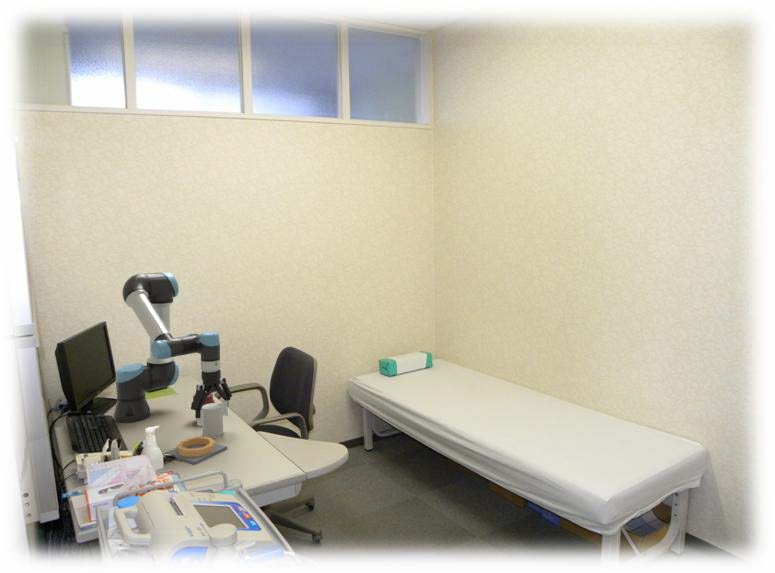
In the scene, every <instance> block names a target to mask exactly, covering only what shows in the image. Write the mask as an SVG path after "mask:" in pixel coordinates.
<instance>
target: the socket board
mask: <svg viewBox="0 0 775 573" xmlns="http://www.w3.org/2000/svg"><path fill="white" fill-rule="evenodd" d="M176 446H177V447H175V448H173V449H170V450H168V451H165V452H164V455H165V454H174V455H175V457H176V458H177V459H176V460H179V461H183V462H185V463H189V464H192V465H197V464H200V463H201V462H203V461H206V460H207V459H209V458H212V457H213V456H215V455H217V454H220V453H221V452H224V451H226V450H228V446H227V445H224V444H220V443H216V441H215V440H214V438H209V437H203V436H194V437H188V438H186V439H183V440H181V441H180V442H179V443H178V444H177V445H176Z"/></svg>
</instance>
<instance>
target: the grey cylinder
mask: <svg viewBox="0 0 775 573" xmlns="http://www.w3.org/2000/svg"><path fill="white" fill-rule="evenodd" d="M202 410H203V426H201V431H202V437H209V438H212V439H215V438H219V437H221V436H223V435H224V415H223V412H222V403H218V402H215V403H211V404H206V405H203V406H202Z"/></svg>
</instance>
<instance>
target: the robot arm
mask: <svg viewBox="0 0 775 573" xmlns="http://www.w3.org/2000/svg"><path fill="white" fill-rule="evenodd" d="M179 288H180V287H179V283H178V281H177V279H176V277H175V275H174V274H172V273H170V272H162V271H161V272H150V273H137V274H134V275H132V276H130V277H129V278H128V279H127V280H126V281H125V282H124V285H123V287H122V299H123V301H124V304H126V305H127V307H128V308H131V309H132V311H133V313H134V314H135V315H136V317H137V319H138V321H139V322H140V324H141V325H142V327H143V329H144V330H145V332H146V334H147V335H148V337H149V353H150V354H149V357H148V358H147V359H146V365H145V364H144V363H143V362H142V363H140V362H137V363H130V364H126V365H123V366H121V367H119V368H118V369H117V370H116V372H115V385H116V386H115V387H116V388H115V389H116V405H115V409H114V412H113V414H112V415H113V421H115V422H116V423H135V422H139V421H143V420H146V419H147V418H149V417H150V416H151V409H150V405H149V403H148V401H147V398H146V392H149V391H153V390H158V389H163V388H168V387H171V386H173V385H175V384H176V383H177V381H178V380H179V375H180V369H179V364H178V362H177V361H176V360H174V359H175V358H174V357H180V356H186V355H192V354H200V367H201V368H200V369H201V380H202V384H197V385H196V389H195V394H194V395H195V396H194V395H193V396H194V399H193V398H192V402H191V403H192V406H190V410H192V411H194V412H195V414H196V418H197V419H196V418H195V419H196V425H197V426H200V427H202V426H203V410H201V408H202V406H203V404H204V402H205V400H206V398H207V396H208V395H209V394H210V393H211V394H213V393H217V394H218V395H219V397H221V398H222V399H221V404H222V412H223V416H226V417H227V416H229V409H228V407H229V406H230V405H229V401H230V400H231V398H232V397H233V394H232V392H231V389H230V388H229V385H228V384H227V378H226V377H222V376H221V374H222V372H221V341H220V334H219V332H216V331H205V332H201V333H200V334H199V333H188V334H186V336H180V337H178V336H177V337H173V335H172V334H171V320H170V319H171V308H170V307H171V305H172V304H173V303H174V298H176V297H177V296H178V294H179Z"/></svg>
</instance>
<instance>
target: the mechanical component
mask: <svg viewBox="0 0 775 573" xmlns="http://www.w3.org/2000/svg"><path fill="white" fill-rule="evenodd" d="M194 396H195V394H194V395H193V396H192V400H193V399H194ZM211 403H216V400H214V395H213V393H210V394H209V395H208V396H207V398H206V400H205V402H204V404H203V405H206V404H211ZM190 405H191V406H192V402H191V404H190ZM191 406H190V407H191ZM201 410H202V408H201ZM194 416H195V419H196V420H197V418H196V414H195V415H194Z"/></svg>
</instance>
